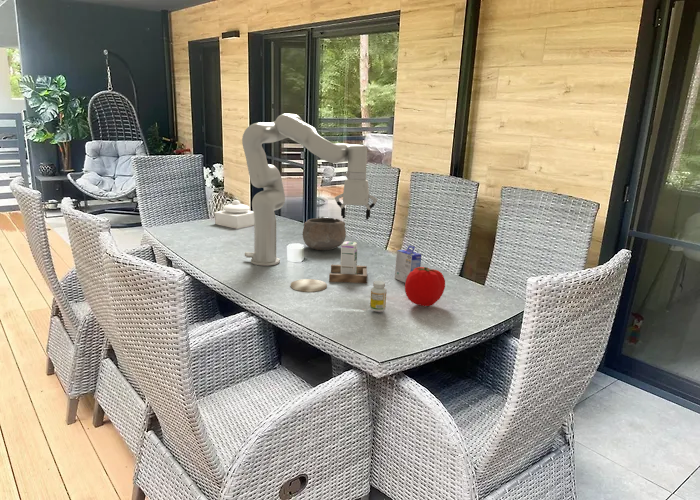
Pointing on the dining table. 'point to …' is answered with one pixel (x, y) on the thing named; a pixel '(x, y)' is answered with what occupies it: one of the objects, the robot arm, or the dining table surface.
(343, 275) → the shelf rack
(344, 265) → the syrup box
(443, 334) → the dining table surface
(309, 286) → the pad
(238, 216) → the butter dish
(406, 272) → the ink cartridge box
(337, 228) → the clay pot
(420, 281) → the tomato
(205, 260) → the dining table surface
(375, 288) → the supplement bottle
